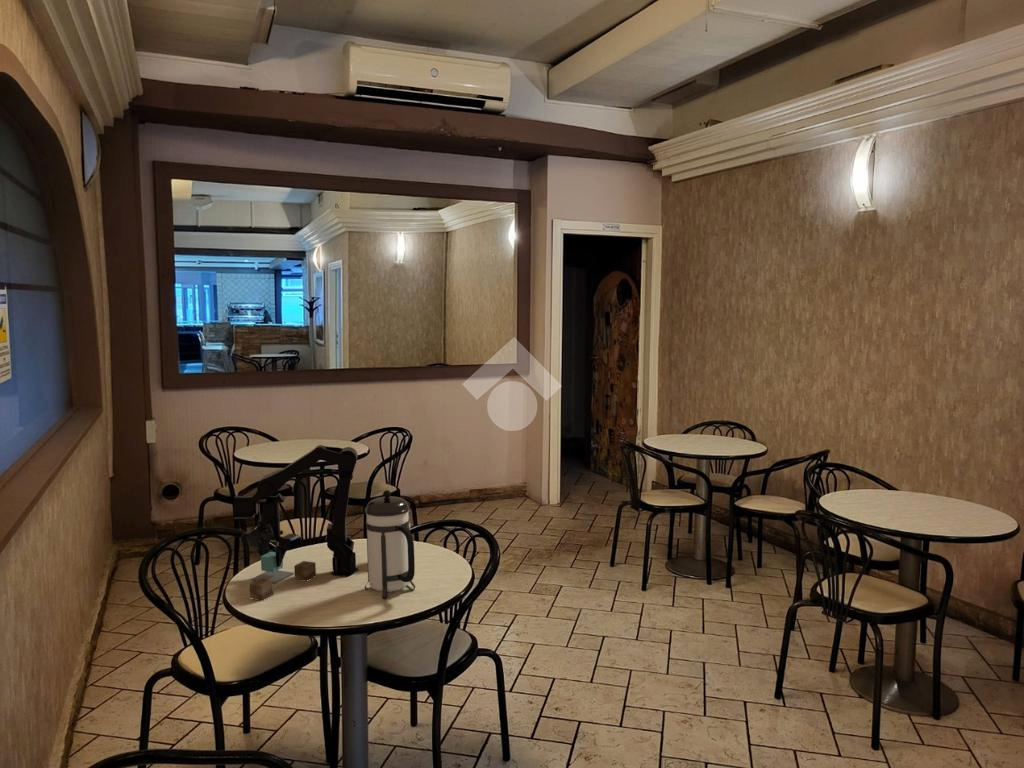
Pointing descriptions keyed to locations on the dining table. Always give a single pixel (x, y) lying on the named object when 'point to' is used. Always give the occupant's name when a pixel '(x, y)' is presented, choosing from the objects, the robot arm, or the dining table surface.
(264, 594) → the walnut cube left
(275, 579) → the slate tile
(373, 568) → the coffee press
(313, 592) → the dining table surface
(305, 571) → the walnut cube right
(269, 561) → the teal cube
